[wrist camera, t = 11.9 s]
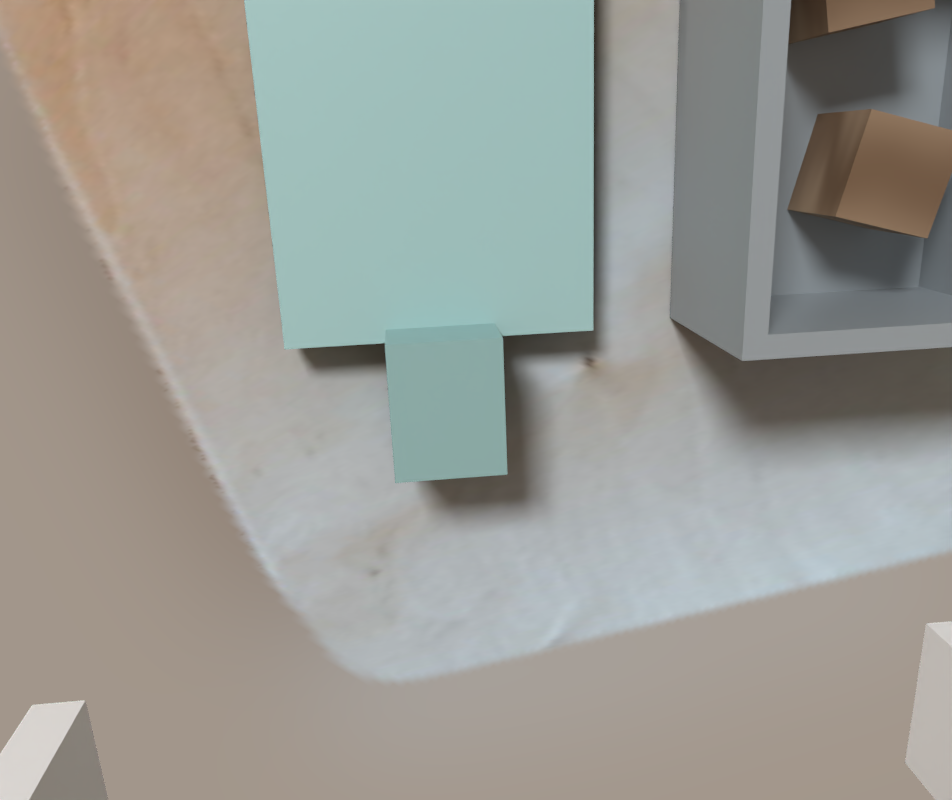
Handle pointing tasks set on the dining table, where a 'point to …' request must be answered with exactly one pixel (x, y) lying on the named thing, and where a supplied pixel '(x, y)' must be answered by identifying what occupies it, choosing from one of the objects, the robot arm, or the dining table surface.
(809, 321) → the tub
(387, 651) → the dining table surface
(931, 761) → the robot arm
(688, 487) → the dining table surface
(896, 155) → the block
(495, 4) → the lid
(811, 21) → the block
